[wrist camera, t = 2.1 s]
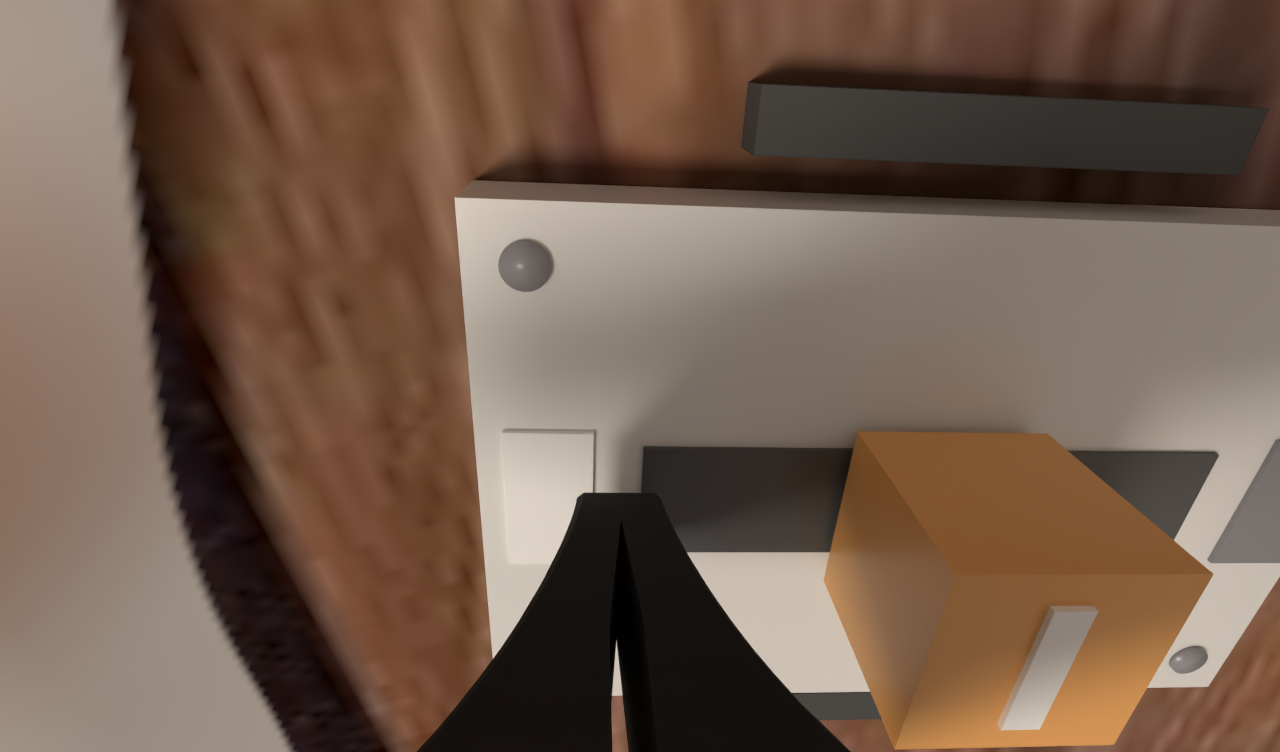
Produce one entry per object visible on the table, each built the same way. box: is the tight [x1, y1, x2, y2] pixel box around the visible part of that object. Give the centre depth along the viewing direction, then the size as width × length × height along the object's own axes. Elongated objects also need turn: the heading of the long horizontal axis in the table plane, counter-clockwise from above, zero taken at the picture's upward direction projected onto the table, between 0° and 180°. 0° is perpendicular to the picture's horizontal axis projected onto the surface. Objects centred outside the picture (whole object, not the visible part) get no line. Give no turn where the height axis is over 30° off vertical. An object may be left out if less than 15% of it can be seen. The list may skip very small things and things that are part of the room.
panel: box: [455, 180, 1280, 696], centre depth 13 cm, size 11×17×2 cm, turn 87°
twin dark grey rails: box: [741, 82, 1268, 720], centre depth 13 cm, size 14×8×1 cm, turn 177°
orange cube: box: [823, 431, 1214, 749], centre depth 11 cm, size 4×4×4 cm
